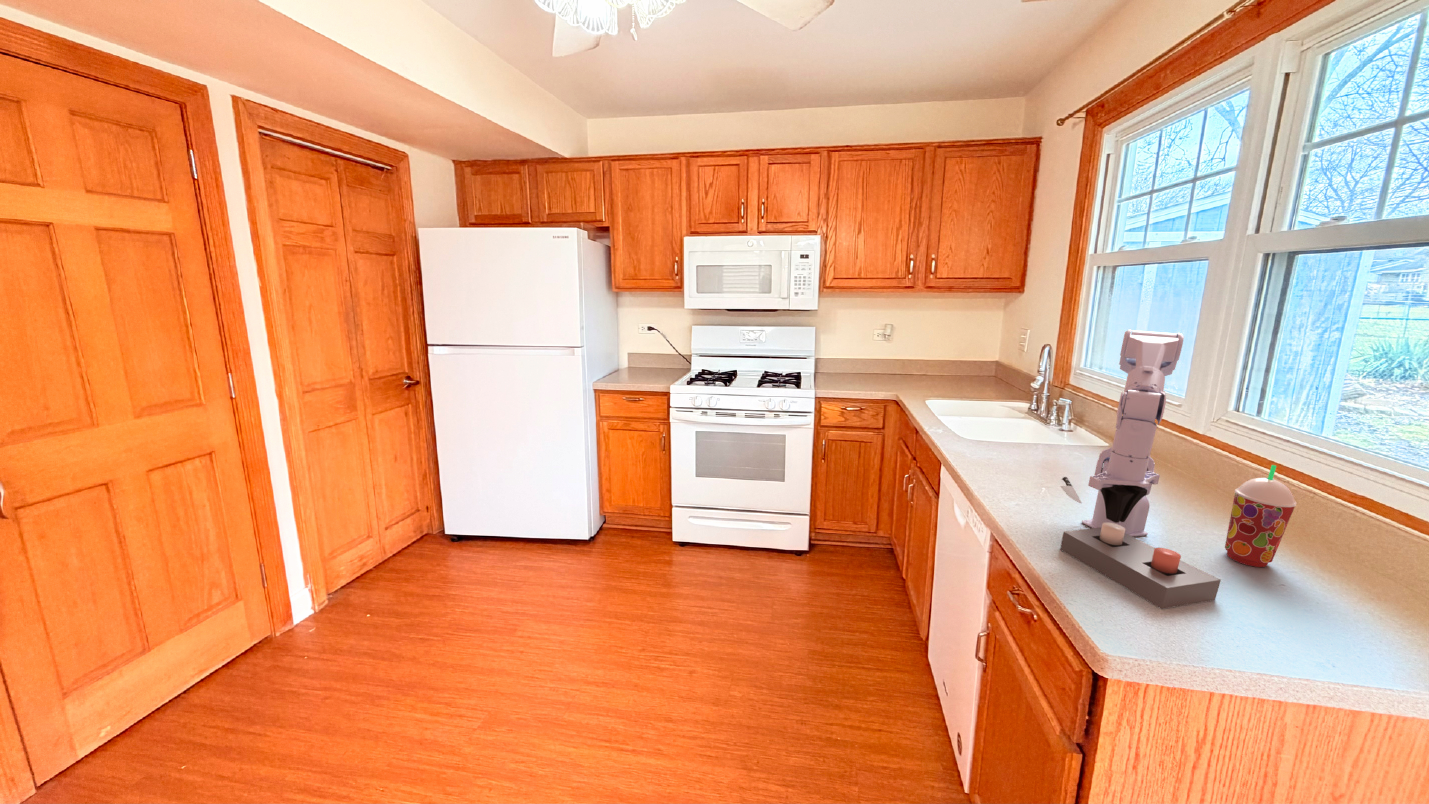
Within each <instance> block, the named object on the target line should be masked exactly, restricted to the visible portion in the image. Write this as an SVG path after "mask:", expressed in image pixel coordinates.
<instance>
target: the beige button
mask: <svg viewBox="0 0 1429 804" xmlns="http://www.w3.org/2000/svg"><path fill="white" fill-rule="evenodd" d="M1124 533H1125V528H1124V527H1122V526H1120V525H1118V524H1114V523H1108V522H1106V523H1103V524H1102V528H1101V533H1100V540H1101V541H1103V542H1105V543H1108V544H1111V545H1122V542H1123V538H1124Z"/></svg>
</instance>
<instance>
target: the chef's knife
mask: <svg viewBox="0 0 1429 804" xmlns="http://www.w3.org/2000/svg"><path fill="white" fill-rule="evenodd" d="M1062 480H1063V481H1064V482H1065V483H1066V485H1060V488H1061V489H1062V491H1064V493H1065V492H1066V493H1065V494H1066V496H1068V497H1069V498H1071V499H1072V500H1073V501H1075V502H1077V503H1079V504H1082V503H1083V502H1082V501H1081V499H1080V497H1079V495H1078V493H1077V492H1076V490H1075V488H1074V487H1073V485H1072V483H1071V481H1070V480H1069V478H1068V477H1067V476H1063V477H1062Z"/></svg>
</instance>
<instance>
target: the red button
mask: <svg viewBox="0 0 1429 804" xmlns="http://www.w3.org/2000/svg"><path fill="white" fill-rule="evenodd" d="M1181 559H1182V555H1181V554H1179V552H1177V551H1175V550H1172V549H1169V548H1164V547H1155V549H1154V553H1153V557H1152V562H1151V566H1152V567H1153V568H1155V569H1157V570H1159V571H1162V572H1165V573H1170V574H1174V573H1177V570H1178V566H1179V562H1180V560H1181Z"/></svg>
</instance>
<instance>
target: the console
mask: <svg viewBox="0 0 1429 804" xmlns="http://www.w3.org/2000/svg"><path fill="white" fill-rule="evenodd" d="M1101 528H1102V527H1100V528H1091V527H1090V528H1084V529H1075V530H1066V531H1063V534H1062V538H1061V544H1060V551H1062V552H1064V553H1066V554H1067V555H1069V556H1070V557H1072V558H1073V559H1076V560H1077V561H1079V562H1081V563H1082V564H1084V565H1086V566H1088V567H1089V568H1091V569H1092V570H1094V571H1096V572H1098V573H1100V575H1102V576H1105V577H1106V578H1108V579H1110V580H1111V581H1113V582H1115V583H1116V584H1118V585H1119V586H1122V587H1124V588H1125V589H1127V590H1128V591H1130V592H1132V593H1134V594H1135V595H1137V596H1138V597H1140V598H1142V599H1144V600H1146V601H1147V602H1150V603H1151V604H1152V605H1155V606H1156V607H1158V608H1160V609H1161V610H1165V609H1170V608H1176V607H1182V606H1188V605H1189V606H1190V605H1194V604H1201V603H1207V602H1212V601H1216V599H1217V595H1218V591H1219V589H1220V588H1219V587H1220V585H1221V580H1222V579H1220V578H1219V577H1216V576H1214V575H1212V574H1210V573H1208V572H1206V571H1204V570H1201V569H1199V568H1198V567H1196V566H1193V565H1191V564H1189V563H1188V562H1185V561H1183V560H1181V559H1180V562H1179V566H1178V570H1177V573H1174V574H1170V573H1165V572H1162V571H1159V570H1157V569H1155V568H1153V567H1152V566H1151V562H1152V557H1153V553H1154V549H1155V548H1156V547H1154V546H1153V545H1150V544H1148V543H1146V542H1145V541H1142V540H1140V539H1138V538H1137V537H1132V536H1130V535H1128V534H1126V533H1124V538H1123V542H1122V545H1111V544H1108V543H1105V542H1103V541H1101V540H1100V533H1101Z"/></svg>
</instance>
